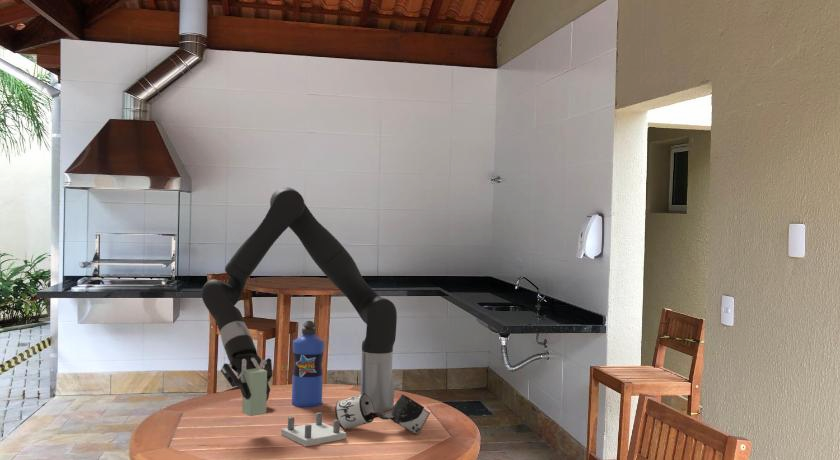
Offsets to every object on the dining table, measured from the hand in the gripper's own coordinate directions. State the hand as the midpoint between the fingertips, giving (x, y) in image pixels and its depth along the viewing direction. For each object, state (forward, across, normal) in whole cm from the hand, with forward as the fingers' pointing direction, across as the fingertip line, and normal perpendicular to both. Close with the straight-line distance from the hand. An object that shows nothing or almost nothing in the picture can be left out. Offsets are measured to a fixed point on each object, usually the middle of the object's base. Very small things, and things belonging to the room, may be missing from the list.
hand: (258, 396), depth 187 cm
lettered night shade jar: (+17, +29, -1) cm, 34 cm away
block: (+2, 0, +5) cm, 5 cm away
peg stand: (+13, +12, +2) cm, 18 cm away
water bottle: (-8, +28, +23) cm, 37 cm away
